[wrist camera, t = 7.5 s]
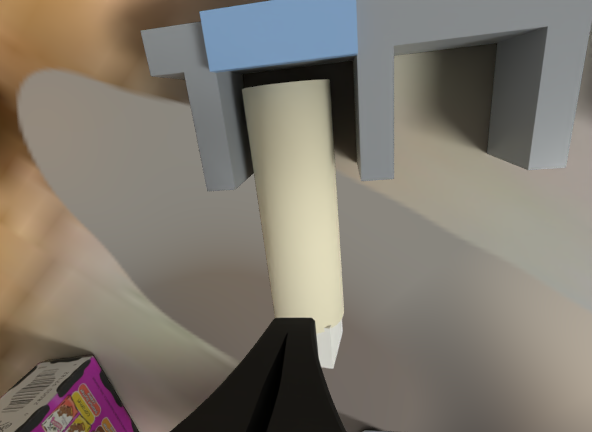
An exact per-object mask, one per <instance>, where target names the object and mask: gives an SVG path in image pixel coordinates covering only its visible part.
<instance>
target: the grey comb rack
mask: <svg viewBox="0 0 592 432" xmlns="http://www.w3.org/2000/svg"><path fill="white" fill-rule="evenodd" d="M199 12H200V18H201V22H195V23H188V24H181V25H175V26H168V27H161V28H155V29H148V30H141V35H142V39H143V44H144V48H145V52H146V57H147V61H148V65H149V70H150V74H151V76H153V77H163V78H173V79H183V80H186V85H187V91H188V96H189V101H190V106H191V110H192V116H193V121H194V126H195V130H196V136H197V141H198V146H199V151H200V156H201V161H202V167H203V171H204V176H205V182H206V187H207V191H219V190H233V189H236V188H238V187H239V186H240V185H241V184H242V183H243V182H244V181H245V180H246V179H247V178H248V177H250V176H251V175H252V174H253V173H254V170H253V163H252V156H251V150H250V143H249V136H248V129H247V122H246V115H245V108H244V102H243V95H242V89H244V82H243V75H242V74H247V73H255V72H263V71H271V70H280V69H288V68H296V67H304V66H313V65H321V64H329V63H337V62H345V61H353V71H354V98H355V124H356V150H357V165H358V169H359V173H360V177H361V181H370V180H385V179H394V56H395V55H403V54H411V53H420V52H428V51H436V50H444V49H453V48H461V47H469V46H477V45H485V44H494V43H497V52H496V62H495V73H494V84H493V94H492V105H491V116H490V126H489V137H488V147H487V154H489V155H492V156H494V157H497V158H499V159H502V160H504V161H507V162H509V163H512V164H514V165H517V166H519V167H522V168H524V169H527V170H537V169H552V168H566V164H567V158H568V153H569V147H570V141H571V136H572V130H573V124H574V119H575V113H576V107H577V102H578V96H579V90H580V85H581V79H582V73H583V68H584V62H585V56H586V51H587V45H588V39H589V34H590V32H592V0H270V1H264V2H257V3H251V4H245V5H238V6H232V7H225V8H219V9H212V10H206V11H199Z"/></svg>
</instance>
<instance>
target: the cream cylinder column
mask: <svg viewBox="0 0 592 432" xmlns="http://www.w3.org/2000/svg"><path fill="white" fill-rule="evenodd" d="M242 95H243V102H244V108H245V115H246V122H247V129H248V136H249V143H250V150H251V156H252V163H253V170H254V176H255V183H256V190H257V197H258V204H259V211H260V218H261V225H262V232H263V239H264V245H265V252H266V259H267V266H268V273H269V280H270V287H271V294H272V300H273V307H274V314H275V318H313V319H314V320H315V325H316V336H317V346H318V356H319V361H320V365H321V367H324V368H331V369H333V368H334V364H335V360H336V356H337V351H338V348H339V343H340V340H341V336H342V332H343V329H342V318H343V315H344V302H343V288H342V271H341V254H340V238H339V222H338V205H337V189H336V173H335V157H334V140H333V124H332V108H331V92H330V80H328V79H324V80H307V81H296V82H286V83H277V84H269V85H261V86H255V87H249V88H244V89H242Z"/></svg>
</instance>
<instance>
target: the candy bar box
mask: <svg viewBox="0 0 592 432" xmlns="http://www.w3.org/2000/svg"><path fill="white" fill-rule="evenodd" d="M0 432H138V430H137V428H136V427H135V425H134V423H133V422H132V420H131V418H130V416H129V415H128V413H127V411H126V410H125V408H124V406H123V405H122V403H121V401H120V399H119V398H118V396H117V394H116V393H115V391H114V390H113V388H112V386H111V384H110V383H109V381H108V379H107V378H106V376H105V374H104V373H103V371H102V369H101V368H100V366H99V364H98V362H97V361H96V359H95V358H94V356H92V355H89V356H81V357H75V358H68V359H56V360H50V361H44V362H41V363H39V364H38V365H37V366H35V367H34V368H33V369H32V370H31V371H30V372H28V373H27V374H26V375H25V376H24V377H23V378H22V379H21V380H20V381H19V382H17V383H16V384H15V385H14V386H13V387H12V388H11V389H10V390H9V391H8V392H6V393H5V394H4V395H3V396H2V397H1V398H0Z"/></svg>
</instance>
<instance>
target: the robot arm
mask: <svg viewBox="0 0 592 432" xmlns="http://www.w3.org/2000/svg"><path fill="white" fill-rule="evenodd" d="M170 432H346V430H345V428H344V426H343V424H342V422H341V420H340V417H339V415H338V413H337V410H336V408H335V405H334V403H333V401H332V398H331V395H330V393H329V390H328V387H327V384H326V381H325V378H324V375H323V372H322V369H321V365H320V361H319V356H318V346H317V336H316V325H315V320H314V319H313V318H275V319H274V320H273V321H272V322H271V324H270V325H269V327H268V328H267V329H266V331H265V332H264V333H263V335H262V336H261V337H260V339H259V340H258V341H257V343H256V344H255V345H254V347H253V348H252V349H251V350H250V352H249V353H248V354H247V355H246V357H245V358H244V359H243V360H242V361H241V363H240V364H239V365H238V366H237V367H236V368H235V370H234V371H233V372H232V373H231V374H230V375H229V376H228V377H227V379H226V380H225V381H224V382H223V383H222V384H221V385H220V386H219V387H218V388H217V389H216V390H215V391H214V392H213V393H212V394H211V395H210V396H209V397H208V398H207V399H206V400H205V401H204V402H203V403H202V404H201V405H200V406H199V407H198V408H197V409H196V410H195V411H194V412H192V413H191V414H190V415H189V416H188V417H187V418H186V419H184V420H183V421H182V422H181V423H180V424H178V425H177V426H176V427H175V428H174V429H172V430H171V431H170ZM363 432H391V431H370V430H366V431H363Z"/></svg>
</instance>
